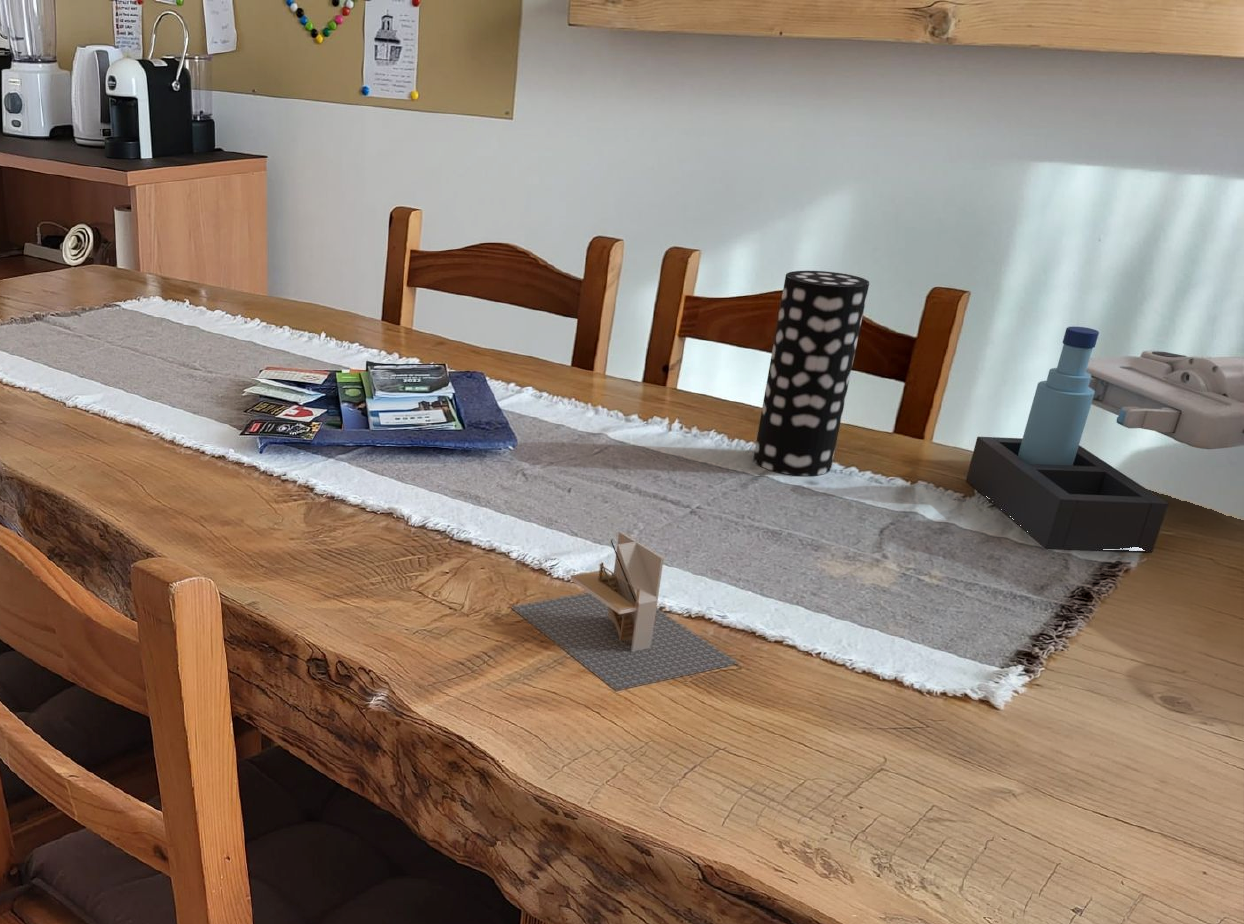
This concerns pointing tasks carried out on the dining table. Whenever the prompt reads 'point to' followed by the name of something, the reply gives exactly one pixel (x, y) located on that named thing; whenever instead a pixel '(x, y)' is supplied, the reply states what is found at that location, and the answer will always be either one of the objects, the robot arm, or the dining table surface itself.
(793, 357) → the spotted tube
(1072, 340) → the bottle
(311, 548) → the dining table surface
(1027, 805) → the dining table surface
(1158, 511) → the holder
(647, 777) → the dining table surface
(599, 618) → the architectural model
